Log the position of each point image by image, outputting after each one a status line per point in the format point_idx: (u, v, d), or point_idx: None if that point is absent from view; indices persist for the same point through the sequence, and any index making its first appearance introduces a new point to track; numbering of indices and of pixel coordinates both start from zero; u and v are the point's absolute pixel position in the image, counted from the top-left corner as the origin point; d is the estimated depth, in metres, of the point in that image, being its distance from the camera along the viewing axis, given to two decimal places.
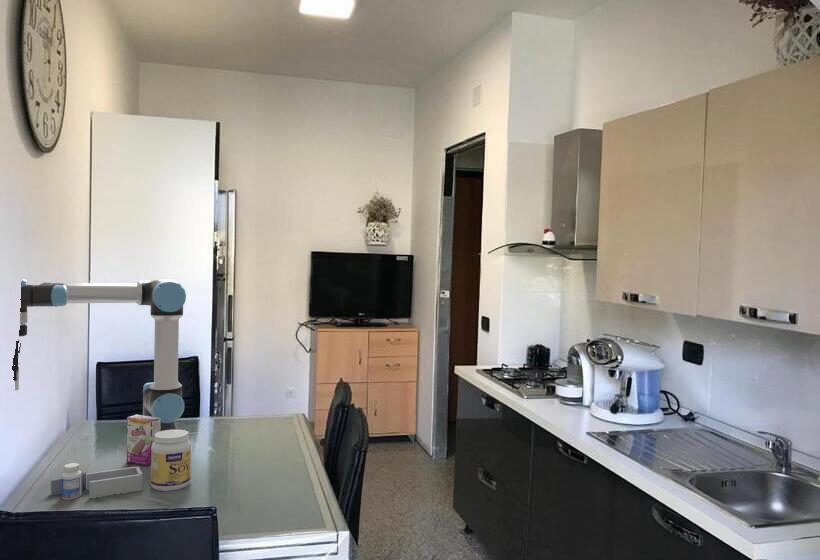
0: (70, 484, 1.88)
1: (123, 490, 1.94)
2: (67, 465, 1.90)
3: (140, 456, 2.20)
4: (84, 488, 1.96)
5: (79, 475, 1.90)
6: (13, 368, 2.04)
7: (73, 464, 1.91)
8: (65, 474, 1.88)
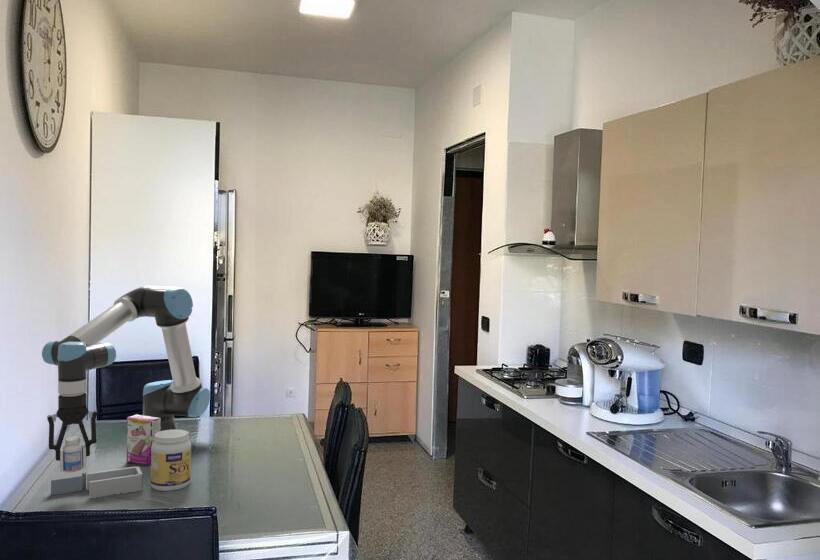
0: (71, 457, 1.88)
1: (123, 490, 1.94)
2: (68, 438, 1.90)
3: (140, 456, 2.20)
4: (84, 488, 1.96)
5: (80, 448, 1.90)
6: None
7: (74, 437, 1.91)
8: (66, 447, 1.88)
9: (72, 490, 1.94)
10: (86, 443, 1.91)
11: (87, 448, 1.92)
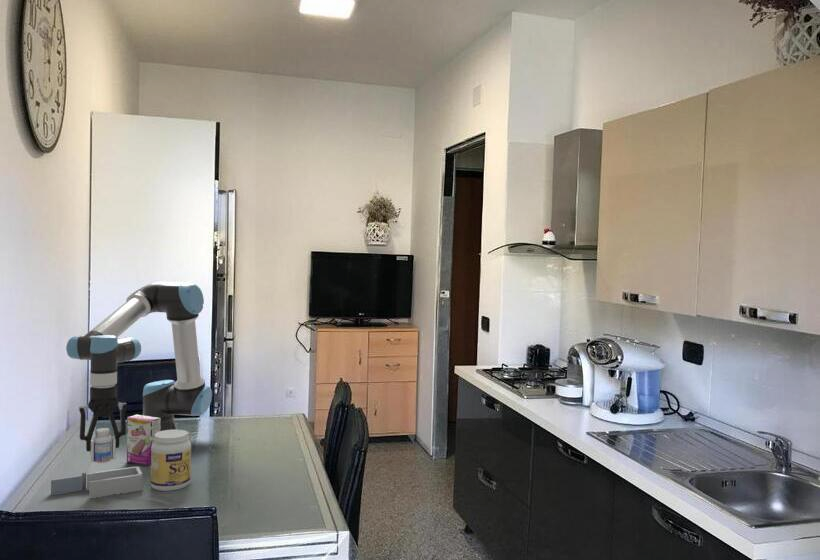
0: (102, 447, 1.92)
1: (123, 490, 1.94)
2: (98, 429, 1.94)
3: (140, 456, 2.20)
4: (84, 488, 1.96)
5: (110, 439, 1.94)
6: (80, 438, 1.91)
7: (104, 429, 1.95)
8: (97, 438, 1.92)
9: (72, 490, 1.94)
10: (116, 435, 1.95)
11: (117, 440, 1.96)
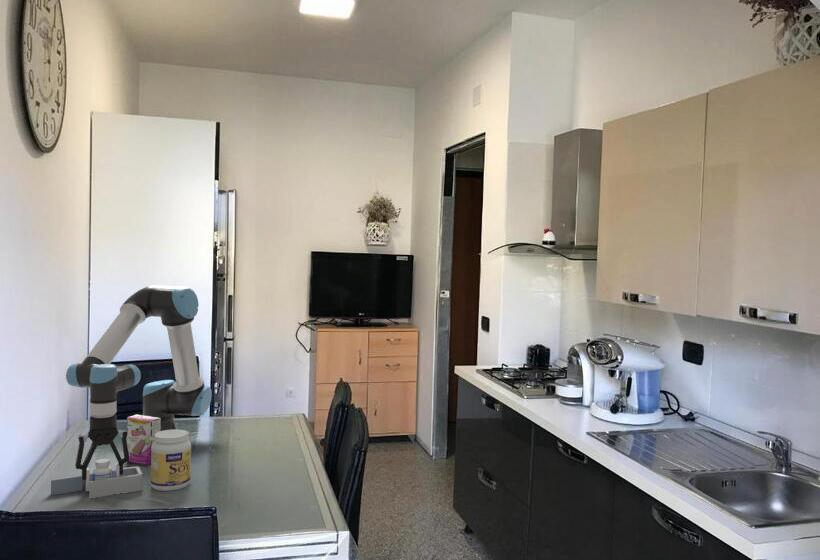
0: (102, 479, 1.92)
1: (123, 490, 1.94)
2: (98, 461, 1.94)
3: (140, 456, 2.20)
4: (84, 488, 1.96)
5: (110, 470, 1.94)
6: None
7: (104, 460, 1.95)
8: (96, 469, 1.93)
9: (72, 490, 1.94)
10: (119, 462, 1.96)
11: (120, 466, 1.97)
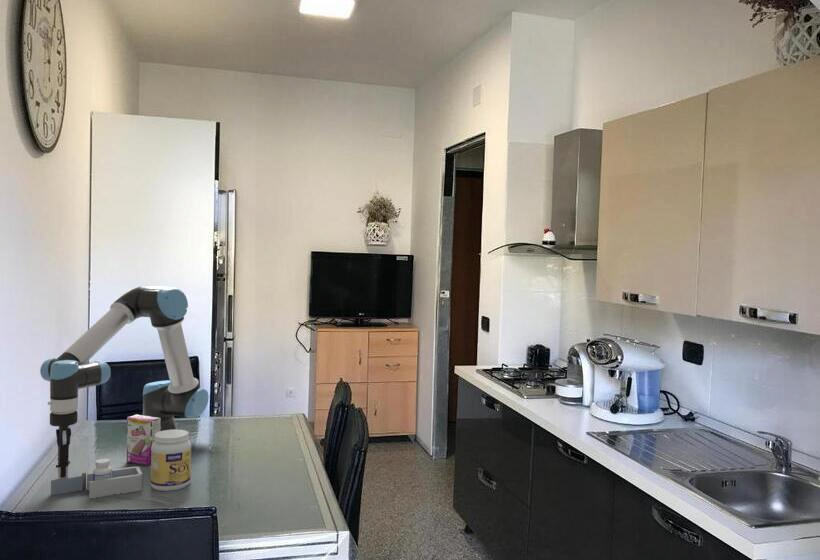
0: (102, 479, 1.92)
1: (123, 490, 1.94)
2: (98, 461, 1.94)
3: (140, 456, 2.20)
4: (84, 488, 1.96)
5: (110, 470, 1.94)
6: (63, 466, 1.91)
7: (104, 460, 1.95)
8: (96, 469, 1.93)
9: (72, 490, 1.94)
10: None
11: None
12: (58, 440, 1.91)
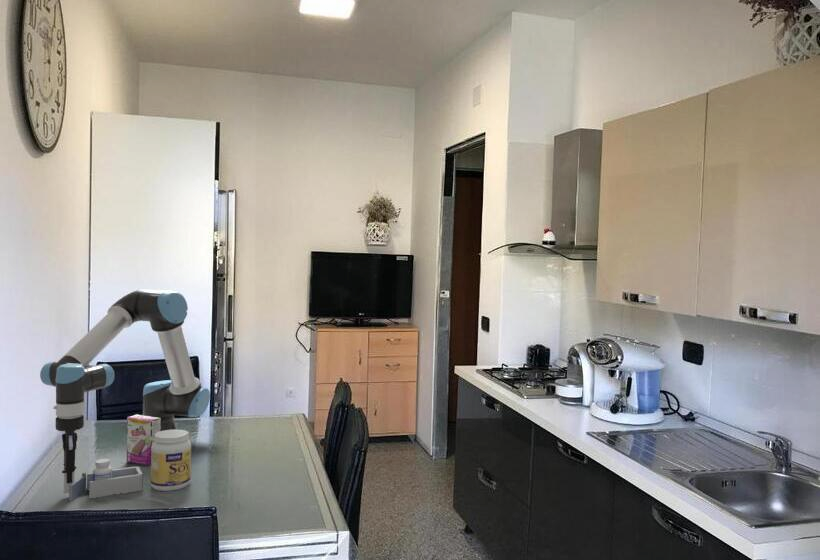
0: (102, 479, 1.92)
1: (123, 490, 1.94)
2: (98, 461, 1.94)
3: (140, 456, 2.20)
4: (85, 487, 1.96)
5: (110, 470, 1.94)
6: (69, 471, 1.87)
7: (104, 460, 1.95)
8: (96, 469, 1.93)
9: (80, 492, 1.93)
10: None
11: None
12: (64, 445, 1.87)
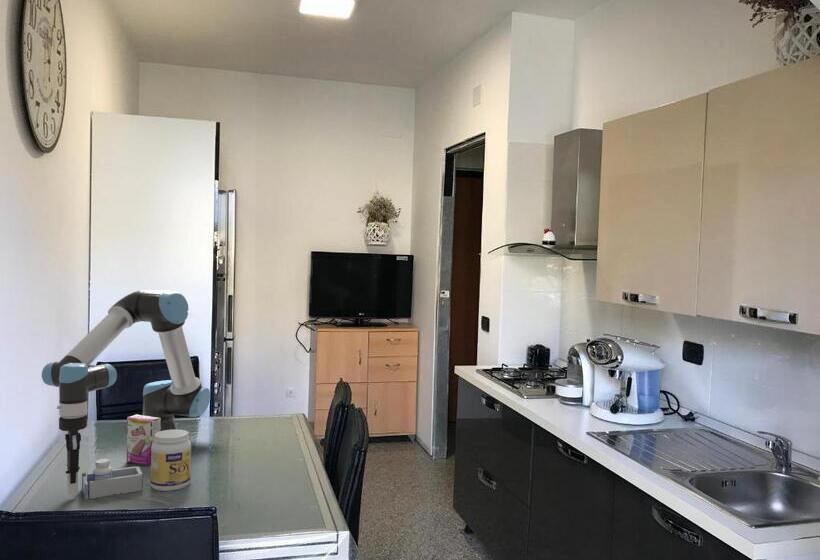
0: (102, 479, 1.92)
1: (123, 490, 1.94)
2: (98, 461, 1.94)
3: (140, 456, 2.20)
4: None
5: (110, 470, 1.94)
6: (73, 471, 1.86)
7: (104, 460, 1.95)
8: (96, 469, 1.93)
9: None
10: None
11: None
12: (68, 445, 1.86)
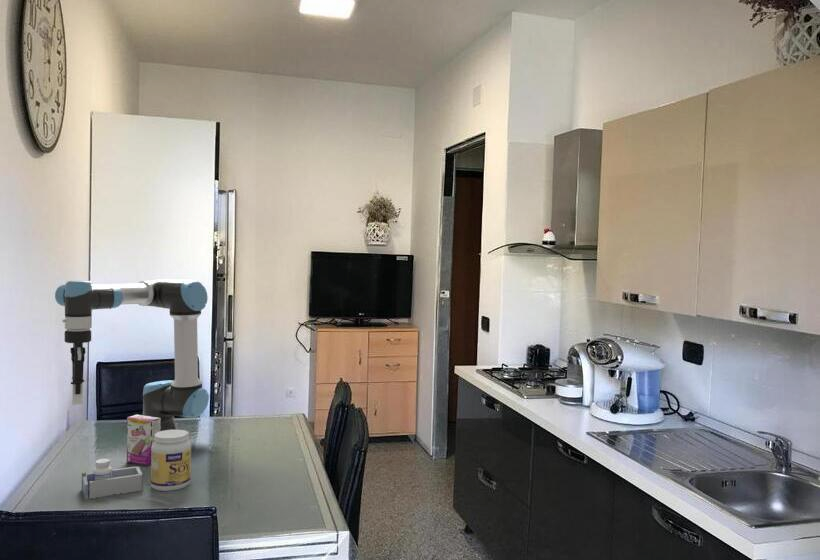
0: (102, 479, 1.92)
1: (123, 490, 1.94)
2: (98, 461, 1.94)
3: (140, 456, 2.20)
4: None
5: (110, 470, 1.94)
6: (78, 382, 1.95)
7: (104, 460, 1.95)
8: (96, 469, 1.93)
9: None
10: None
11: None
12: (73, 357, 1.95)
